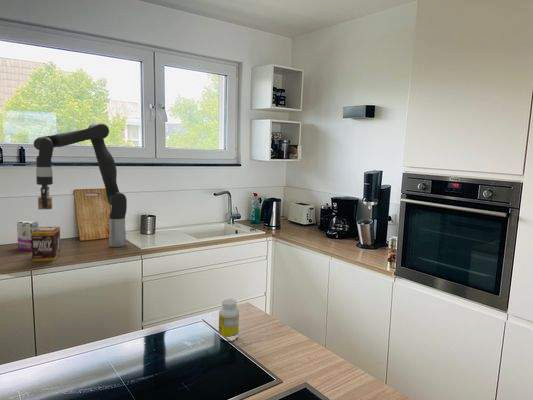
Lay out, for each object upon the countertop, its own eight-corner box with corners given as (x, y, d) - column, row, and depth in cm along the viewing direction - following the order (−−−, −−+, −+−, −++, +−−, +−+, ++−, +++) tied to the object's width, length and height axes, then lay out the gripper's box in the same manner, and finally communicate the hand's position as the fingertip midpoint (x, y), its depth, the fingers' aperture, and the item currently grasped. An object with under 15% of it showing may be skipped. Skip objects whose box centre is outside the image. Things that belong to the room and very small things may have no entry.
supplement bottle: (219, 333, 137) (220, 297, 135) (238, 333, 137) (239, 297, 135) (217, 342, 130) (218, 305, 128) (238, 343, 130) (239, 305, 129)
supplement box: (32, 261, 206) (30, 232, 204) (40, 253, 221) (39, 226, 219) (54, 261, 209) (53, 232, 207) (60, 253, 224) (60, 226, 222)
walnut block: (52, 207, 215) (51, 196, 215) (51, 209, 210) (51, 197, 209) (39, 207, 213) (39, 196, 212) (38, 209, 208) (37, 198, 207)
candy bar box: (39, 249, 229) (38, 221, 227) (31, 251, 224) (30, 223, 222) (25, 247, 233) (24, 219, 231) (17, 249, 228) (16, 221, 226)
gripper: (51, 176, 204) (52, 208, 207) (53, 174, 217) (54, 204, 220) (34, 176, 201) (35, 209, 203) (37, 174, 214) (39, 205, 216)
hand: (45, 206), depth 211 cm, fingers closed on walnut block, 6 cm apart
